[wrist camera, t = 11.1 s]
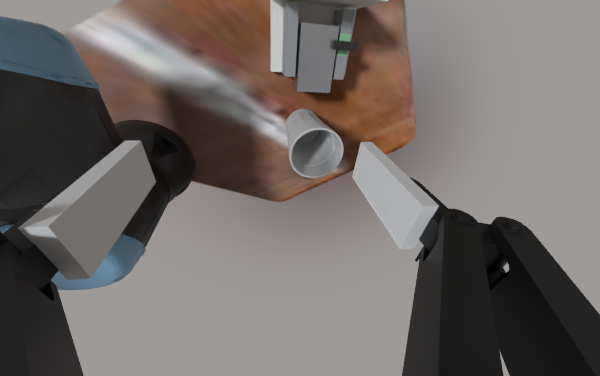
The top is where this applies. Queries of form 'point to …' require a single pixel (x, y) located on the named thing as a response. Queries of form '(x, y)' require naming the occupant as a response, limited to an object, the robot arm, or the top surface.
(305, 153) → the cup
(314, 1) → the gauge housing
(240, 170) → the top surface
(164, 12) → the top surface
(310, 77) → the grey rectangular slab
